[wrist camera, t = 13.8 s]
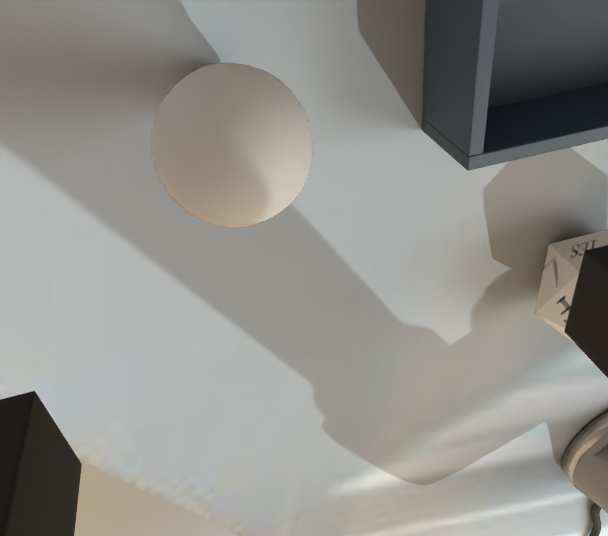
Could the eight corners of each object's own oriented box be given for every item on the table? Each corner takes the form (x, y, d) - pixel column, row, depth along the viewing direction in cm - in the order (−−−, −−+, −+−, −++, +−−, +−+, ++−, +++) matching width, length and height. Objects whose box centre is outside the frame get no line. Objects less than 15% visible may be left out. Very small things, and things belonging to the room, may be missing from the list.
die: (586, 180, 38) (581, 286, 32) (707, 231, 37) (725, 348, 31) (521, 251, 44) (507, 349, 38) (622, 294, 44) (624, 400, 38)
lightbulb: (130, 116, 27) (128, 231, 18) (173, -6, 24) (193, 60, 15) (241, 158, 29) (285, 274, 21) (290, 52, 27) (363, 136, 18)
